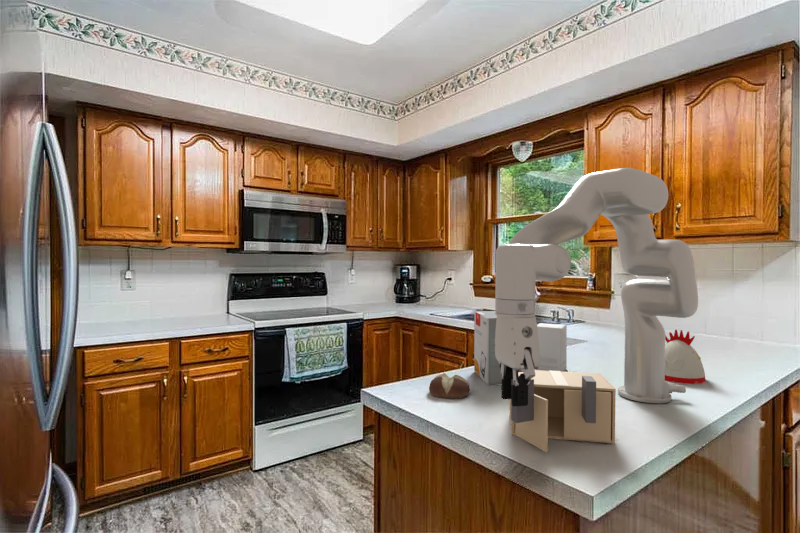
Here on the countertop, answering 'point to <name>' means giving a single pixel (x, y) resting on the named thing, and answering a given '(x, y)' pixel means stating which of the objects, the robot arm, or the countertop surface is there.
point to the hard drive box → (486, 347)
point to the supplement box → (552, 347)
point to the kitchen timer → (682, 360)
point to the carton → (553, 390)
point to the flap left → (532, 419)
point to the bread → (449, 386)
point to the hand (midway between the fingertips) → (514, 401)
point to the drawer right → (587, 412)
